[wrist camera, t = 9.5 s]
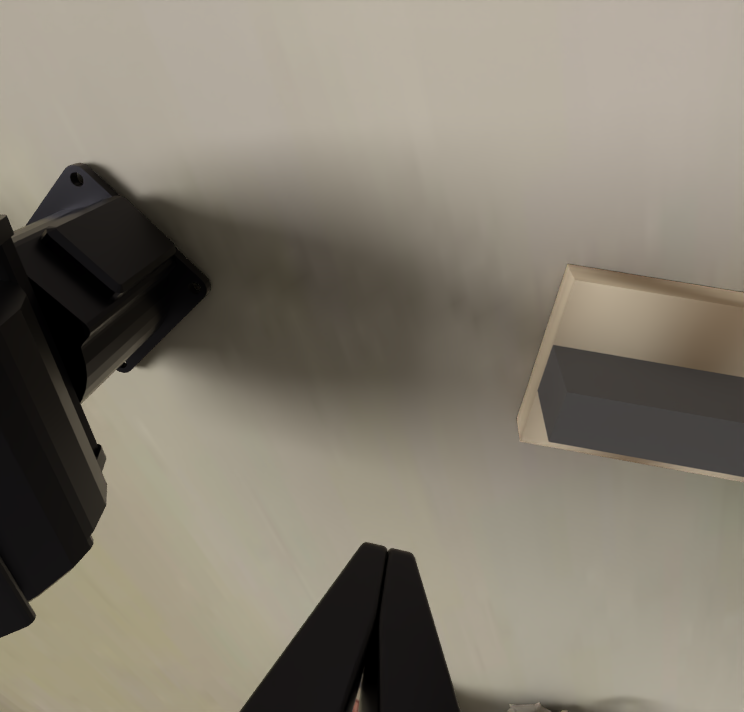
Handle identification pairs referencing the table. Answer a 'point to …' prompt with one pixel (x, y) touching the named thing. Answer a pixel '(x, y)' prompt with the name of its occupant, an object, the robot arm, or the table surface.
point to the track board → (638, 335)
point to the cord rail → (644, 409)
